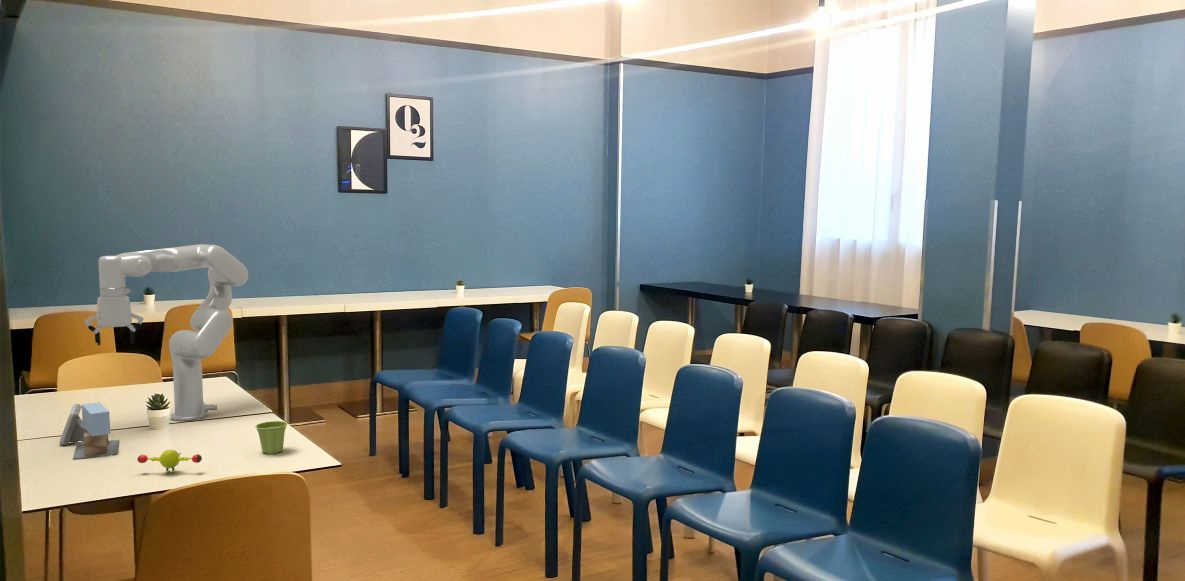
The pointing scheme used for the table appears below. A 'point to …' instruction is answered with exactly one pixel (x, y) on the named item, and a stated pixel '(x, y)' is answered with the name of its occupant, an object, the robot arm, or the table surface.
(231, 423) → the table surface
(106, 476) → the table surface
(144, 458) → the toy figure
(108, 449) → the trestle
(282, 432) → the plant pot
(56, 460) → the table surface
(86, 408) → the lintel
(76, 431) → the digital clock
